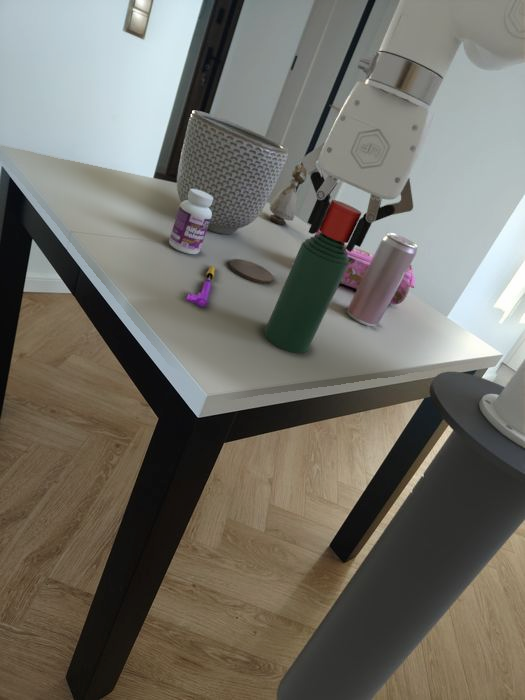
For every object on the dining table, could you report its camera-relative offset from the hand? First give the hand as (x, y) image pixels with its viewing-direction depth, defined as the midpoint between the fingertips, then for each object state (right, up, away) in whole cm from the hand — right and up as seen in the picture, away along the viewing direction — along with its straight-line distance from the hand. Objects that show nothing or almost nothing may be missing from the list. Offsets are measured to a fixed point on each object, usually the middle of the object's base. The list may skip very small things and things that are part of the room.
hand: (331, 239), depth 62 cm
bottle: (-5, -12, +6) cm, 15 cm away
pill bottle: (-22, +3, +23) cm, 32 cm away
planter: (-19, +12, +42) cm, 48 cm away
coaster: (-11, 0, +25) cm, 27 cm away
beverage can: (+9, -8, +26) cm, 29 cm away
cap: (0, 0, 0) cm, 0 cm away
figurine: (-5, +19, +67) cm, 70 cm away
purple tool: (-18, -4, +12) cm, 22 cm away
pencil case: (+9, -1, +40) cm, 41 cm away
